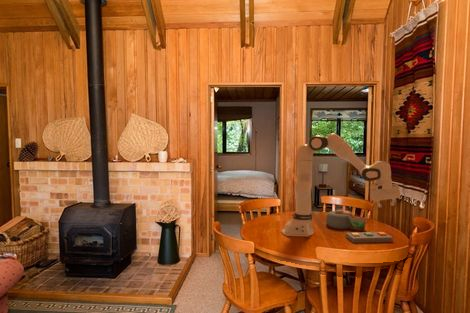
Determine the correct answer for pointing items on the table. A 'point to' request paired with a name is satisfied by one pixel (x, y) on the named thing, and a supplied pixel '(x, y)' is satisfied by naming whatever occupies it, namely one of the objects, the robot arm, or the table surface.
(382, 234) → the orange button
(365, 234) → the olive green button
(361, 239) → the button board
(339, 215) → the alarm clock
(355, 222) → the food container
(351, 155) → the robot arm
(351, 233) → the cream button
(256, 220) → the table surface
